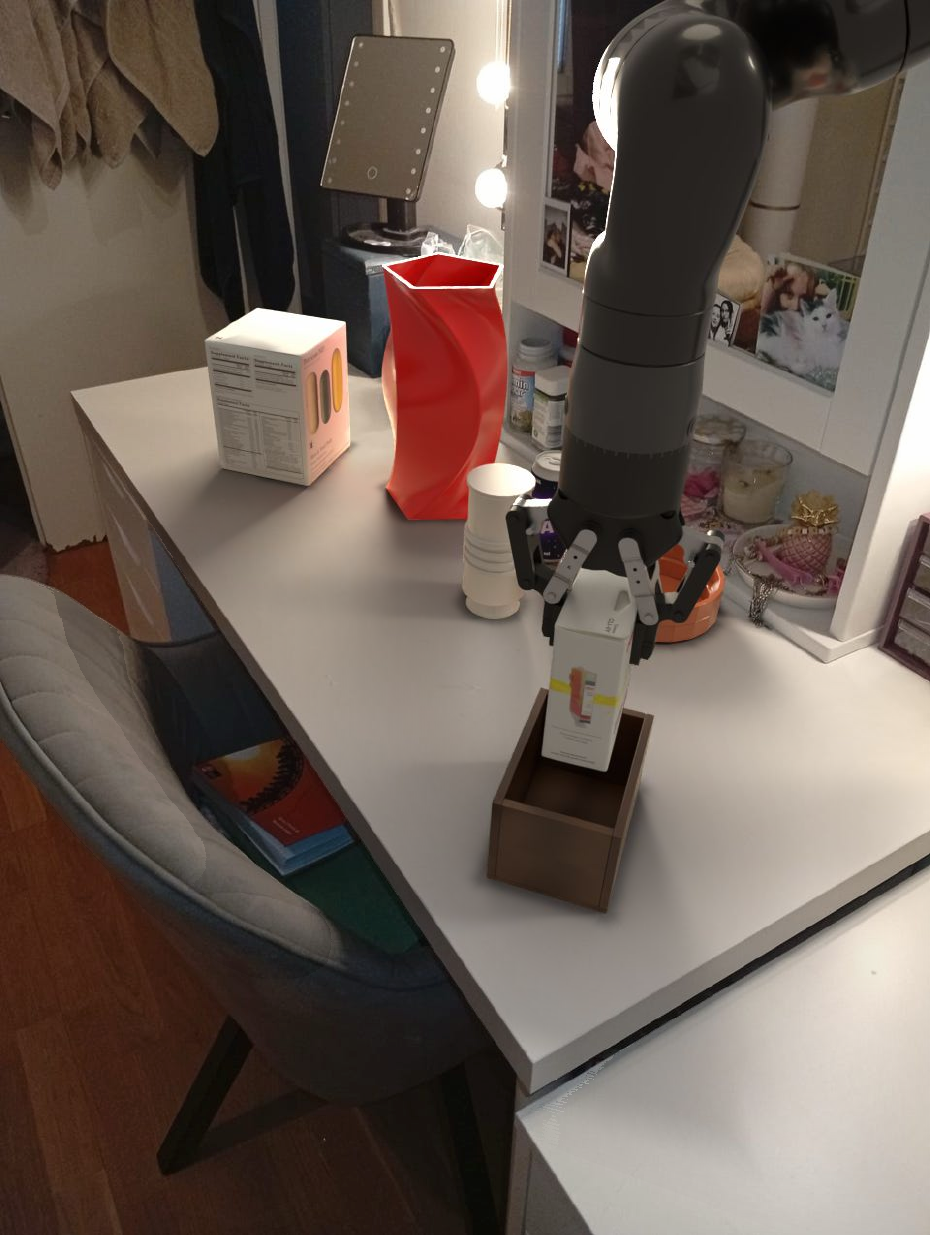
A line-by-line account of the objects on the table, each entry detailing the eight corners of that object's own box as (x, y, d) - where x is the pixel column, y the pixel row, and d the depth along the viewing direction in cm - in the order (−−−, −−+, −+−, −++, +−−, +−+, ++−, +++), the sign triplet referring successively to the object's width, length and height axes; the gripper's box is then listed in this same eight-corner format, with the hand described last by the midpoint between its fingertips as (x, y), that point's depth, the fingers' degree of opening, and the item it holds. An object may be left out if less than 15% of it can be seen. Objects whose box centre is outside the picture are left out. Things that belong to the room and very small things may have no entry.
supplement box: (309, 488, 119) (300, 356, 109) (219, 469, 122) (201, 339, 112) (352, 445, 129) (348, 320, 119) (267, 429, 132) (256, 306, 122)
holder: (638, 788, 79) (654, 714, 74) (606, 914, 69) (622, 838, 64) (532, 760, 82) (540, 687, 77) (486, 878, 71) (492, 802, 66)
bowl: (723, 584, 105) (731, 550, 102) (707, 658, 94) (716, 622, 91) (599, 558, 108) (604, 525, 106) (571, 627, 97) (575, 591, 95)
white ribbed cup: (531, 619, 98) (544, 494, 89) (466, 624, 97) (472, 498, 88) (517, 583, 104) (528, 461, 95) (456, 587, 103) (461, 464, 94)
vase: (467, 535, 111) (476, 299, 95) (358, 509, 115) (349, 279, 99) (507, 480, 123) (523, 261, 106) (407, 458, 127) (407, 244, 110)
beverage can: (526, 537, 111) (534, 446, 104) (573, 542, 111) (584, 451, 104) (521, 563, 107) (529, 469, 100) (571, 568, 106) (583, 474, 99)
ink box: (565, 683, 72) (582, 555, 65) (628, 698, 71) (652, 569, 64) (537, 757, 66) (552, 623, 59) (606, 775, 65) (629, 641, 58)
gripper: (761, 414, 55) (707, 641, 65) (528, 377, 59) (511, 597, 69) (750, 469, 49) (692, 708, 60) (492, 424, 53) (480, 657, 63)
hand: (595, 648), depth 64 cm, fingers closed on ink box, 5 cm apart
